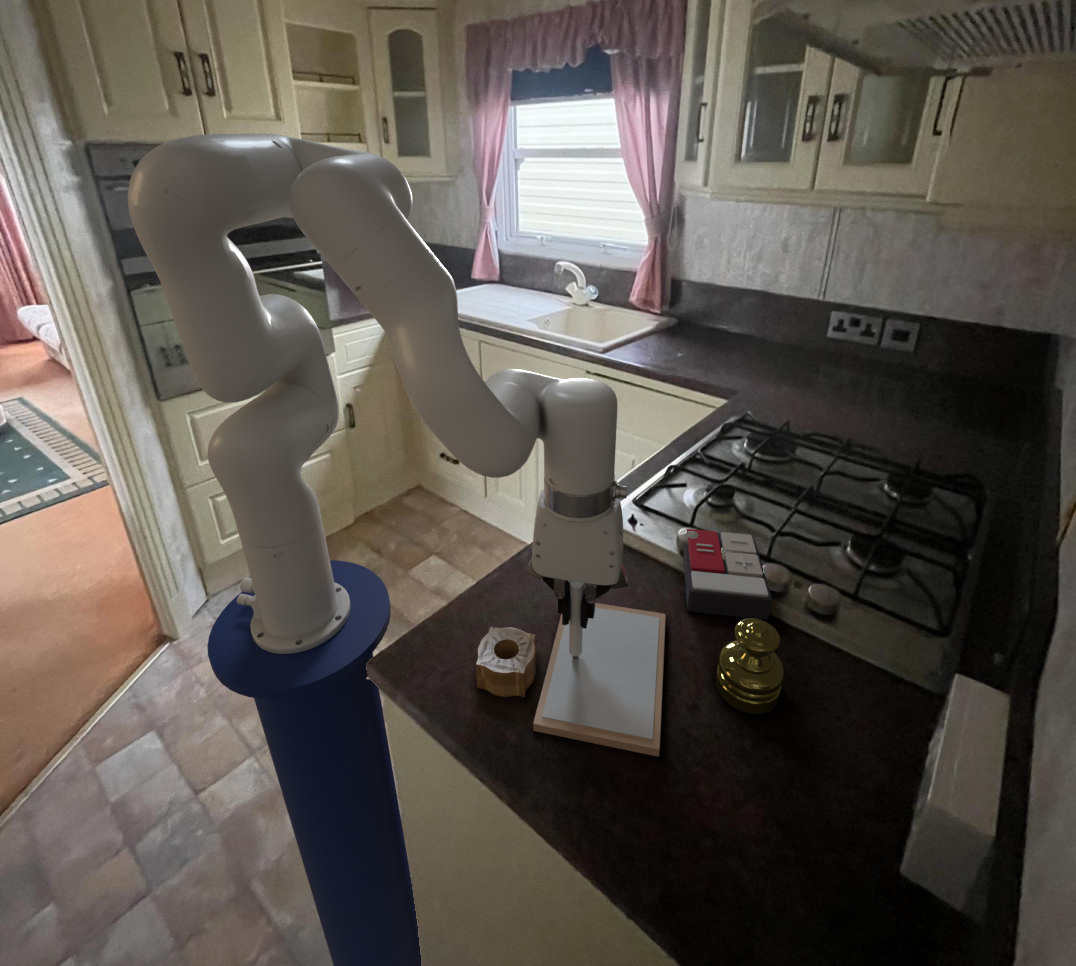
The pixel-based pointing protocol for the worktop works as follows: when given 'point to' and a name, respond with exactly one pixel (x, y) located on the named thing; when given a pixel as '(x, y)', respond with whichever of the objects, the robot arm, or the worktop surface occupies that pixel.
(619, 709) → the small whiteboard
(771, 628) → the brass weight
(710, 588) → the calculator
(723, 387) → the worktop surface
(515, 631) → the holder
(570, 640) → the stylus
